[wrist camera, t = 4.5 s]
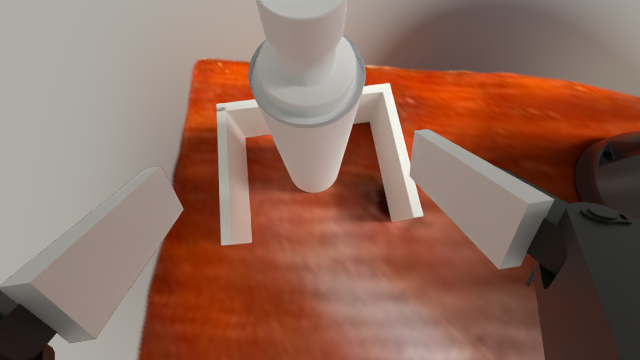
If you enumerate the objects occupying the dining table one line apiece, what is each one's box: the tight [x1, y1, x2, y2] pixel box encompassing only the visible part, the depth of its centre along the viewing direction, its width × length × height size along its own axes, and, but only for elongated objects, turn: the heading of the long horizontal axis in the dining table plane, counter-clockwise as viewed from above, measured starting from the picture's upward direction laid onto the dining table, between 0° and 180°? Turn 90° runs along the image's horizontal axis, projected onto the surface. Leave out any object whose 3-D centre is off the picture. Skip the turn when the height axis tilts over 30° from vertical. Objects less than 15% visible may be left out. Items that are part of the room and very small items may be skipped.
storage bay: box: [217, 83, 423, 245], centre depth 27 cm, size 20×16×7 cm
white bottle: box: [248, 0, 366, 193], centre depth 19 cm, size 7×7×25 cm
